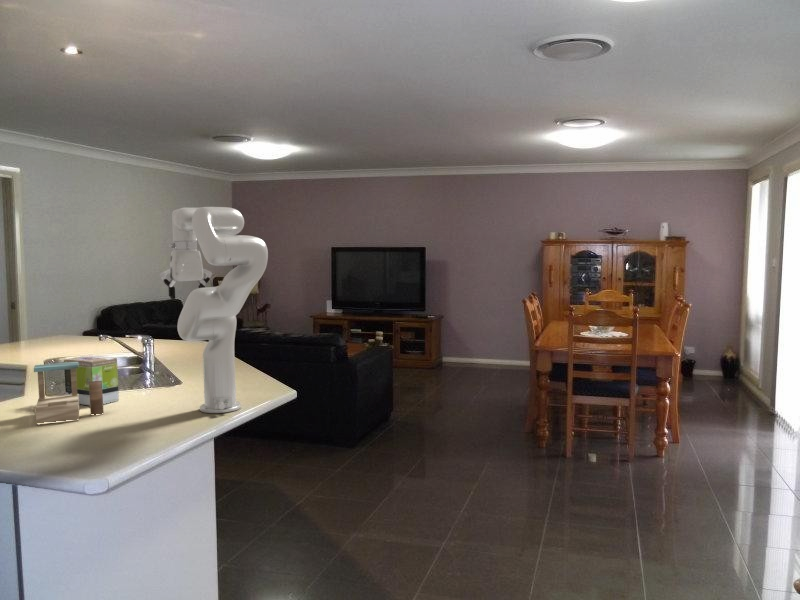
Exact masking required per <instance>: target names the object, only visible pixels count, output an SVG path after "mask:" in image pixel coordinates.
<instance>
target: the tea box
mask: <svg viewBox="0 0 800 600" xmlns="http://www.w3.org/2000/svg"><path fill="white" fill-rule="evenodd" d="M69 362H78V365H79V366H78V369H76V378H77V394H78V397H79V405H83V406H90V394H89V382H92V381H102V393H103V405H107V404H110V402H111V403H115V402H114V401H116V402H118V401H119V400H120V397H119V396H120V395H119V393H120V392H119V373H118V371H119V370H118V358H117V357H113V356H111V357H110V356H99V355H84V356H78V357H76V356H75V357H71V358H64V359H63V363H69ZM63 371H64V386H65V387H64V389H65V395H71V394H72V387H71V369H66V370H63ZM106 403H107V404H106Z"/></svg>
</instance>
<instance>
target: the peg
mask: <svg viewBox="0 0 800 600" xmlns="http://www.w3.org/2000/svg"><path fill="white" fill-rule="evenodd" d="M89 394H90V405H89V409H90V410H89V412H90V415H91V414H94V415H96V414H102V413H104V404H103V393H102V381H92V382H89ZM102 415H103V414H102Z"/></svg>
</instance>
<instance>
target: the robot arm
mask: <svg viewBox="0 0 800 600" xmlns="http://www.w3.org/2000/svg"><path fill="white" fill-rule="evenodd" d="M171 221H172V222H171V223H172V224H171V225H172V242H170V243H169V244H168V247H169V248H171V249H172V251H171V253H170V260H169V268H168V269H166V270H164V271H162V272H161V273H159V277H160V279H161V280H162V283H164V285H166V286H167V288H168V296H169V297H170V299H171V300H175V299H176V288H175V284H176V282H189V281H197V283H198V284H199V285H198V287H197V288H195V289H193V290H191V292H190V293H189V295H187V298H186V300H185V302H184V305H183V307H182V310H181V311H180V314H179V316H178V319H177V325H176V326H177V328H176V329H177V332H178V335H179V338H181V339H182V340H183V341H185V342H200V341H208V342H207V343H206V345H205V346H204V349H203V354H202V366H203V367H202V368H203V369H202V371H203V388H204V389H203V390H204V391H203V393H204V395H203V396H204V398H203V399H204V403H203V404H201V405H199V411H200V412H202V413H206V414H223V413H224V414H225V413H229V412H235V411H237V410H240V409H241V408H242V402H240V401H237V394H236V393H237V390H236V389H237V387H236V363H235V361H236V360H235V338H236V331H237V324H238V323H237V321H238V320H237V315H238V314H239V313H240V311H241V309H242V308H243V306H244V304H245V302H246V301H247V298H248V297H249V295H250V293H251V292H252V290H253V289H254V287H255V286H256V285H257V284H258V282H259V281H260V279H261V278H262V276H263V275H264V273H265V271H266V269H267V265H268V258H269V252H268V251H269V250H268V247H267V244H266V242H265V241H264V240H263V239H261V238H260V237H257V236H254V235H253V236H252V235H243V234H242V235H241V234H240V235H238V234H239V233H241V232H242V230H243V229H244V227H245V218H244V215H242V213H241V212H240V211H239V210H238V209H236V208H234V207H233V208H232V207H230V206H229V207H226V206H203V207H181V208H178V209H174V210H173V211H172V213H171ZM198 245H199V247H200V250H201V251H200V250H198ZM201 252H202V254H201ZM202 255H203V257H204V259H205V260H206V262H207V263H208V264H209V265H212V266H215V267H223V266H225V267H228V266H236V267H234V268H233V269H231V270H230V271H229V272H228V273H226V275H225V276H224V277H223V278H222V281H221V283H220V284H219V285H217V286H210V287H209V286H208V287H206V285H207V284H208V283H209V282H210V279H211V277H212V275H213V272H212V271H211V270H208V269H206V268H204V267H203V266H204V265H203V260H202ZM204 274H205V277H204ZM168 275H169V278H170V280H168V279H167V276H168Z"/></svg>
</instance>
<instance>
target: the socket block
mask: <svg viewBox="0 0 800 600" xmlns="http://www.w3.org/2000/svg"><path fill="white" fill-rule="evenodd" d="M78 366H79V365H78V362H69V363H64V362H58V363H47V364H46V363H45V364H35V365H34V366H33V373H37V387H38V400H37V402H36V406H35V421H36V423H44V422H56V421H66V420H77V419H79V420H80V404H79V397H78V394H77V378H76V369H78ZM66 369H71V387H72V394H71V395H66V394H64V395H52V396H46V393H45V379H44V377H45V376H44V372H51V371H52V372H54V371H62V370H63V371H64V370H66Z"/></svg>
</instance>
